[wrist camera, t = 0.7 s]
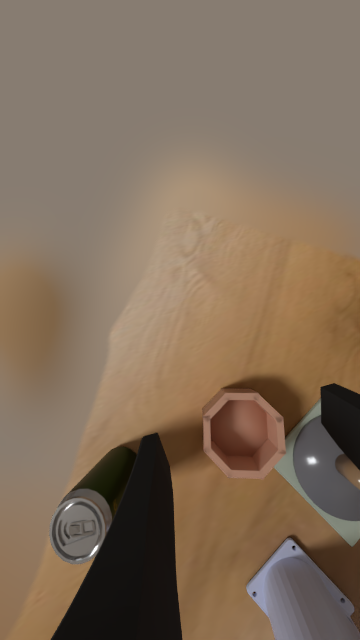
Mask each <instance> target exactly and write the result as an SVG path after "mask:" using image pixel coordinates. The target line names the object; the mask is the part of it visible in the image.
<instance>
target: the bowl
mask: <svg viewBox="0 0 360 640" xmlns="http://www.w3.org/2000/svg"><path fill="white" fill-rule="evenodd" d="M202 414H203V451H204V452H205V453H206V454H207V455H208V456H209V457H210V458H211V459H212V460H213V461H214V463H215V464H216V465H217V466H218V467H219V468H220V469H221V470H222V471H223V472H224V473H225V474H226V476H227V477H228V478H251V479H262V480H263V479H264V477H265V476H266V475H267V474H268V473H269V472H270V471H271V470H272V468H273V467H274V466H275V465H276V464H277V463H278V462H279V461H280V459H281V458H282V457H283V456H284V455H285V454H286V447H285V435H284V422H283V419H284V418H283V416H281V415H280V414H279V413H278V412H277V411H276V410H275V409H274V408H273V407H272V406H271V405H270V404H269V403H268V402H266V401H265V400H264V399H263V398H262V397H261V396H260V395H259V393H257V392H256V391H254V390H252V389H250V388H249V389H233V388H221V390H220V391H219V392H218V393H217V394H216V395H215V396H214V397H213V398H212V399H211V400H210V401H209V402H208V403H207V404H206V405H205V407H204V408H203V409H202Z"/></svg>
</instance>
